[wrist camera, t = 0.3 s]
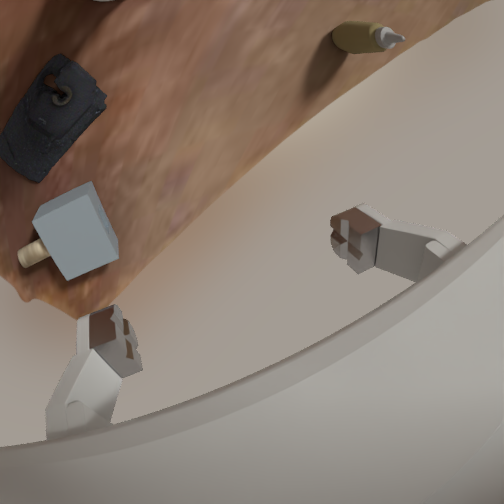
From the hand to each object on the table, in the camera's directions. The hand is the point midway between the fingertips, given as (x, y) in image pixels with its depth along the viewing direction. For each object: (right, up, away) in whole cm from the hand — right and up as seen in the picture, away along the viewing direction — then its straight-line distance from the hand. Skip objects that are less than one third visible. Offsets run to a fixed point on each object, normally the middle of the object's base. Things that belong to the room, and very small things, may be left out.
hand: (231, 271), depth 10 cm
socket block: (-33, +6, +41) cm, 53 cm away
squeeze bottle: (+20, +48, +40) cm, 66 cm away
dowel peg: (-40, +3, +38) cm, 55 cm away
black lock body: (-35, +24, +28) cm, 51 cm away
